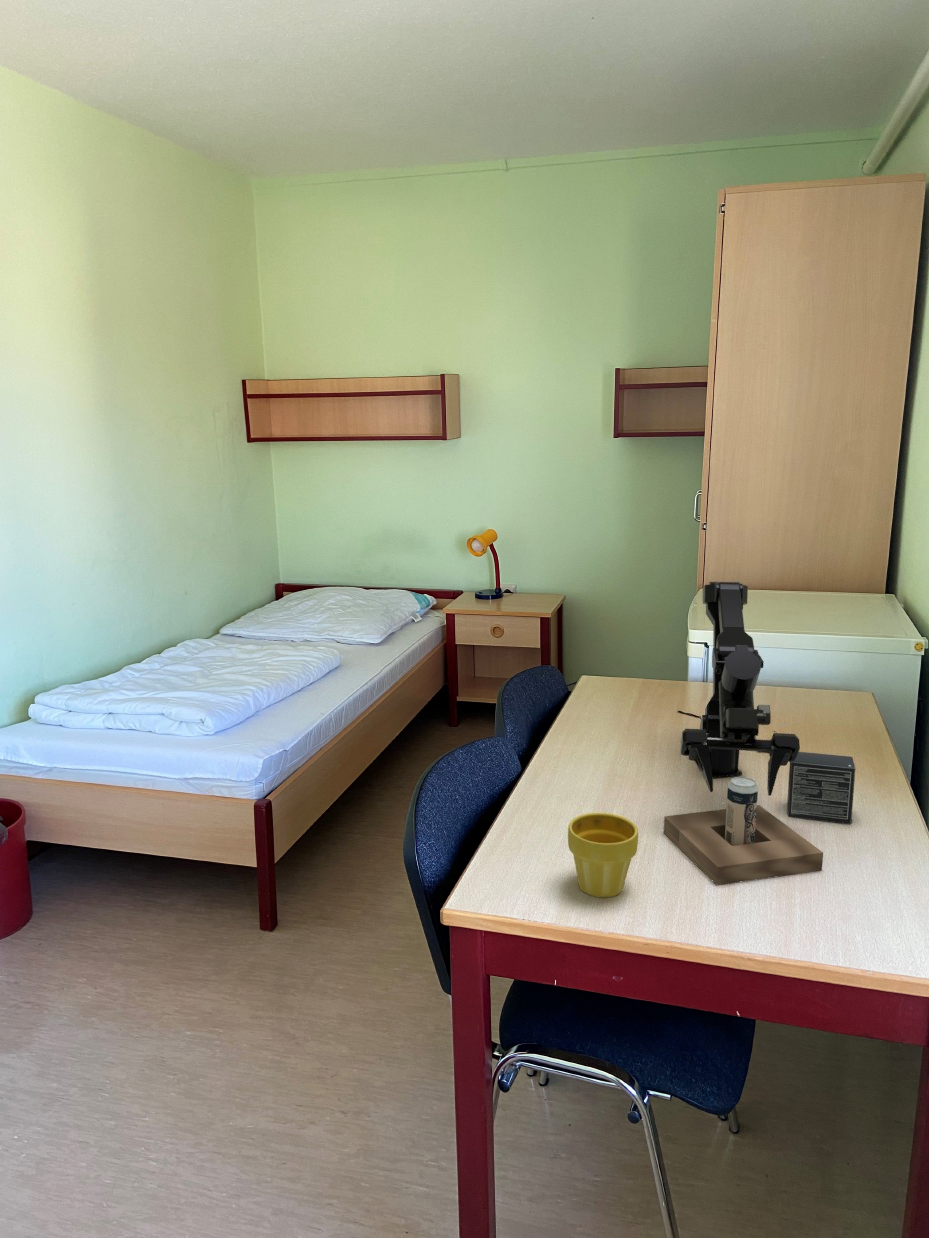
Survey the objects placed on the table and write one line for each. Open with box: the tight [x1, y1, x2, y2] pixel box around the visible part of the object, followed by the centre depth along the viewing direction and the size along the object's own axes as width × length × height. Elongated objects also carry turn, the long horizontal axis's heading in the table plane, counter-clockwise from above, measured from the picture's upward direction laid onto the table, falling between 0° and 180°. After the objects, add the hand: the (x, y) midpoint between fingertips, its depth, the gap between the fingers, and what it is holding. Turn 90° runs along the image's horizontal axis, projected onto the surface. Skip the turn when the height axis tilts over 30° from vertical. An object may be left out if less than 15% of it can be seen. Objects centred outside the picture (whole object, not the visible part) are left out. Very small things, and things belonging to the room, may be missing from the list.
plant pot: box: [567, 812, 639, 898], centre depth 130 cm, size 10×10×10 cm
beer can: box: [725, 776, 759, 846], centre depth 140 cm, size 5×5×12 cm
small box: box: [786, 751, 857, 825], centre depth 154 cm, size 11×6×10 cm, turn 71°
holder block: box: [663, 804, 824, 886], centre depth 141 cm, size 18×18×3 cm
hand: (740, 793), depth 142 cm, fingers open, 9 cm apart
